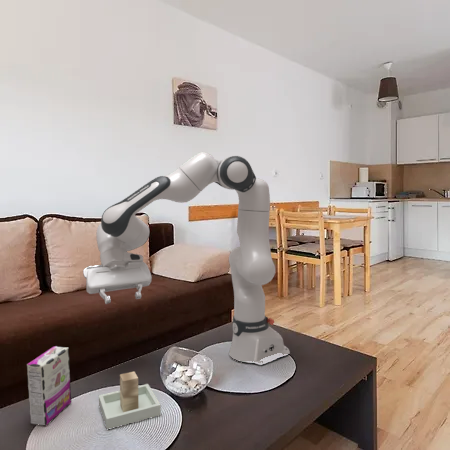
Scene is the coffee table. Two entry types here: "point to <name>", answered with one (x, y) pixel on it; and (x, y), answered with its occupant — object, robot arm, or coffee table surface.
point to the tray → (146, 410)
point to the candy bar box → (49, 385)
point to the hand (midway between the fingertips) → (123, 300)
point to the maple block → (128, 391)
